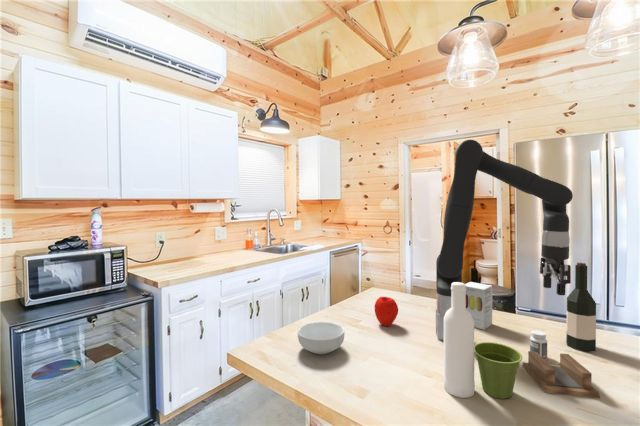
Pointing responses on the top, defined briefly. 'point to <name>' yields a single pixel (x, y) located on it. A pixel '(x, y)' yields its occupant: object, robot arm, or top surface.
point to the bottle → (458, 345)
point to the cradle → (560, 376)
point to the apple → (386, 310)
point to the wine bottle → (581, 314)
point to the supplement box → (479, 304)
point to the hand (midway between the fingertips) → (553, 291)
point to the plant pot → (497, 368)
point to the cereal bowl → (321, 337)
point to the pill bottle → (539, 343)
